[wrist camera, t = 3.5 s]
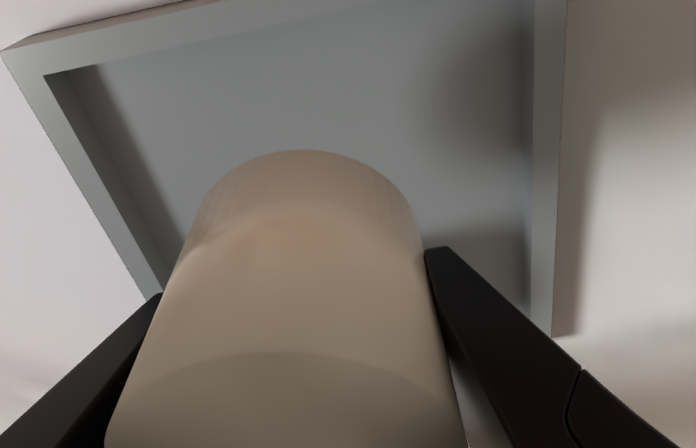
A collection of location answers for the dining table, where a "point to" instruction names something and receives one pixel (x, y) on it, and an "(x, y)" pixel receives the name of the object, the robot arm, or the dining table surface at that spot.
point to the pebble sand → (295, 320)
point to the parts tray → (316, 117)
